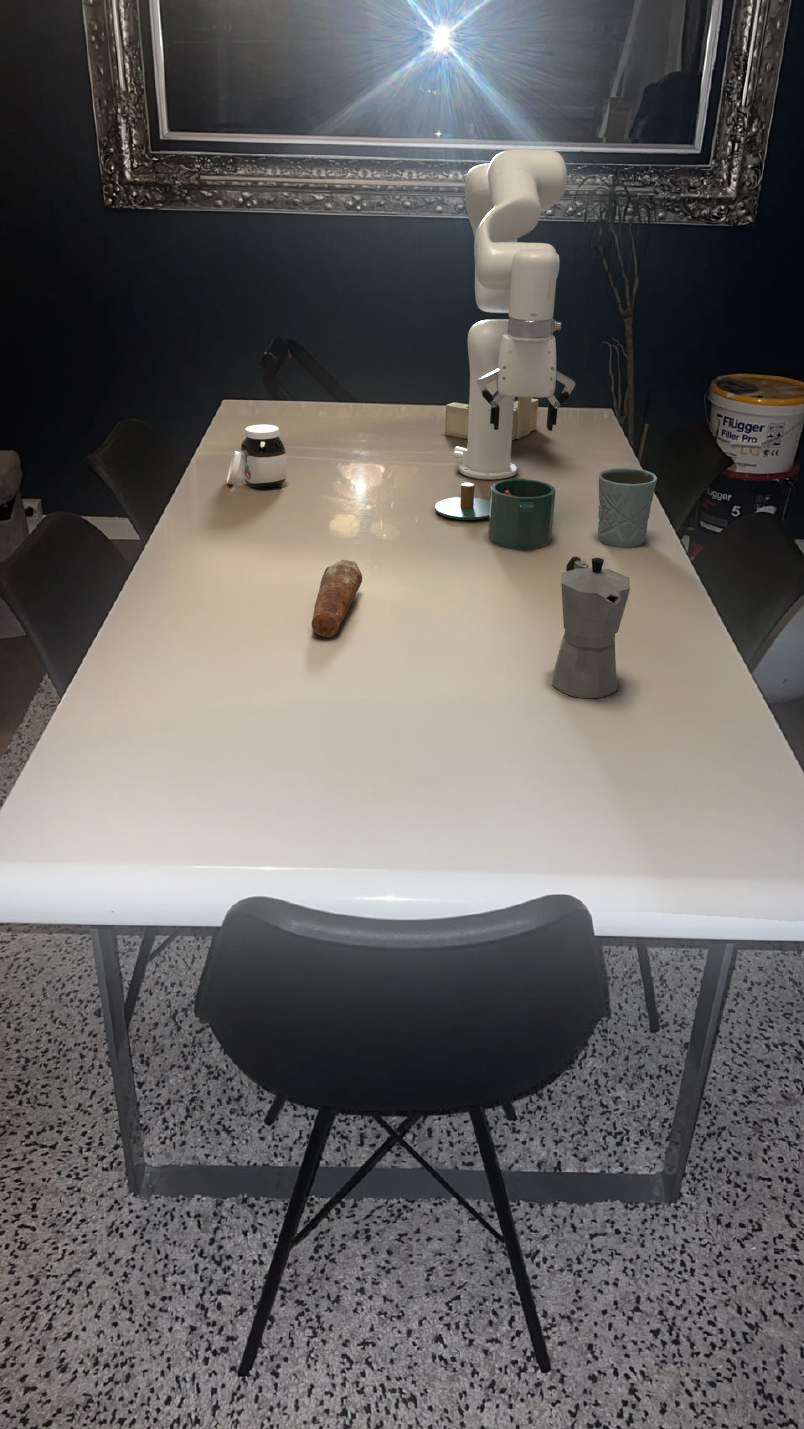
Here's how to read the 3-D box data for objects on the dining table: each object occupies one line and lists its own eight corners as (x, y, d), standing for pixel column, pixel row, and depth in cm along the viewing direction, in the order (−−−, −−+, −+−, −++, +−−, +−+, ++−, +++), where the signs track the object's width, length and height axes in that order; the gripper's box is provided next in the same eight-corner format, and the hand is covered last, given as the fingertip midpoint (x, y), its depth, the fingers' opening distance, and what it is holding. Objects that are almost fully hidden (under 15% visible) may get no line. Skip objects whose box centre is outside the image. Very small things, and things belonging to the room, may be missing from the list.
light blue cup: (658, 539, 191) (667, 475, 185) (629, 553, 185) (637, 487, 179) (611, 526, 197) (619, 464, 191) (581, 539, 191) (588, 475, 185)
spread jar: (292, 487, 216) (290, 431, 210) (243, 496, 211) (240, 439, 205) (265, 473, 225) (262, 419, 219) (218, 481, 219) (213, 426, 213)
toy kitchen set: (481, 420, 268) (484, 359, 261) (539, 429, 260) (543, 367, 253) (444, 435, 255) (446, 372, 247) (504, 446, 247) (508, 380, 239)
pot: (491, 554, 183) (494, 502, 179) (485, 523, 198) (488, 474, 193) (556, 555, 183) (560, 503, 179) (545, 524, 198) (549, 475, 193)
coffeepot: (636, 702, 136) (654, 574, 127) (569, 709, 134) (582, 580, 125) (591, 652, 149) (605, 533, 140) (529, 658, 147) (539, 537, 139)
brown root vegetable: (363, 592, 168) (363, 559, 165) (340, 642, 151) (340, 607, 148) (325, 589, 168) (324, 557, 166) (298, 639, 152) (297, 604, 149)
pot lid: (435, 522, 198) (436, 493, 195) (434, 502, 209) (435, 474, 206) (500, 523, 198) (502, 494, 195) (495, 503, 209) (497, 475, 206)
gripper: (577, 325, 180) (568, 423, 189) (478, 323, 180) (473, 422, 189) (583, 333, 174) (573, 435, 183) (480, 332, 174) (475, 433, 183)
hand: (522, 428), depth 186 cm, fingers open, 9 cm apart
